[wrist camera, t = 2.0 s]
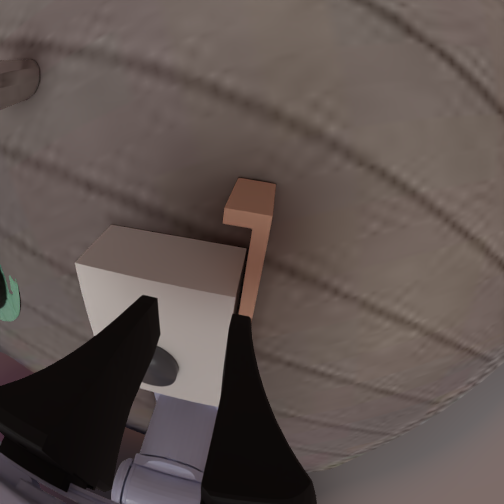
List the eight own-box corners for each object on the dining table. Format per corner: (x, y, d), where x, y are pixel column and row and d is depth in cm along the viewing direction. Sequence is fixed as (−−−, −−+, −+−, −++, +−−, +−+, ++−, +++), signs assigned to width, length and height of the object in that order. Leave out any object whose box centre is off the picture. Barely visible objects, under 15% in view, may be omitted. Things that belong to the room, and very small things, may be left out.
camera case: (228, 362, 27) (218, 415, 22) (128, 338, 27) (105, 385, 22) (246, 248, 20) (233, 307, 15) (111, 224, 21) (68, 270, 16)
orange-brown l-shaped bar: (240, 377, 28) (233, 415, 24) (215, 372, 28) (206, 410, 24) (279, 184, 17) (277, 217, 14) (238, 177, 17) (224, 207, 14)
